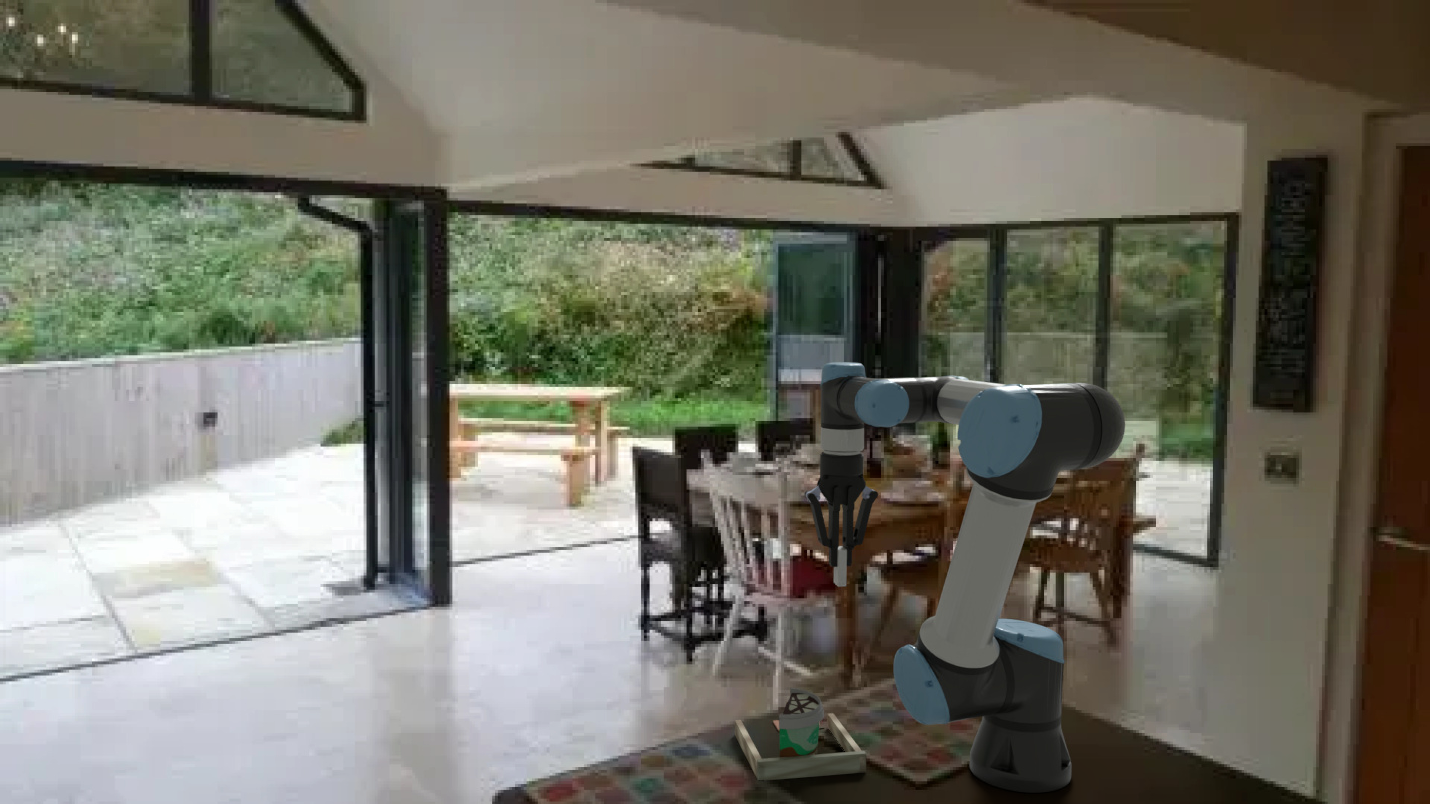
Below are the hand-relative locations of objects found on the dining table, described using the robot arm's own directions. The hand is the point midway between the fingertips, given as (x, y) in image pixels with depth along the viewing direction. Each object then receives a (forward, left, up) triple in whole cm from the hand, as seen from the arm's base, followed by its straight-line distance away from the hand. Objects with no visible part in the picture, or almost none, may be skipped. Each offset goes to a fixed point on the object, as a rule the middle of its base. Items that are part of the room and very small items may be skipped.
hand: (839, 584), depth 193 cm
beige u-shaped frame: (-17, +12, -22) cm, 31 cm away
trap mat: (-6, +9, -22) cm, 25 cm away
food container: (-21, +12, -23) cm, 33 cm away
